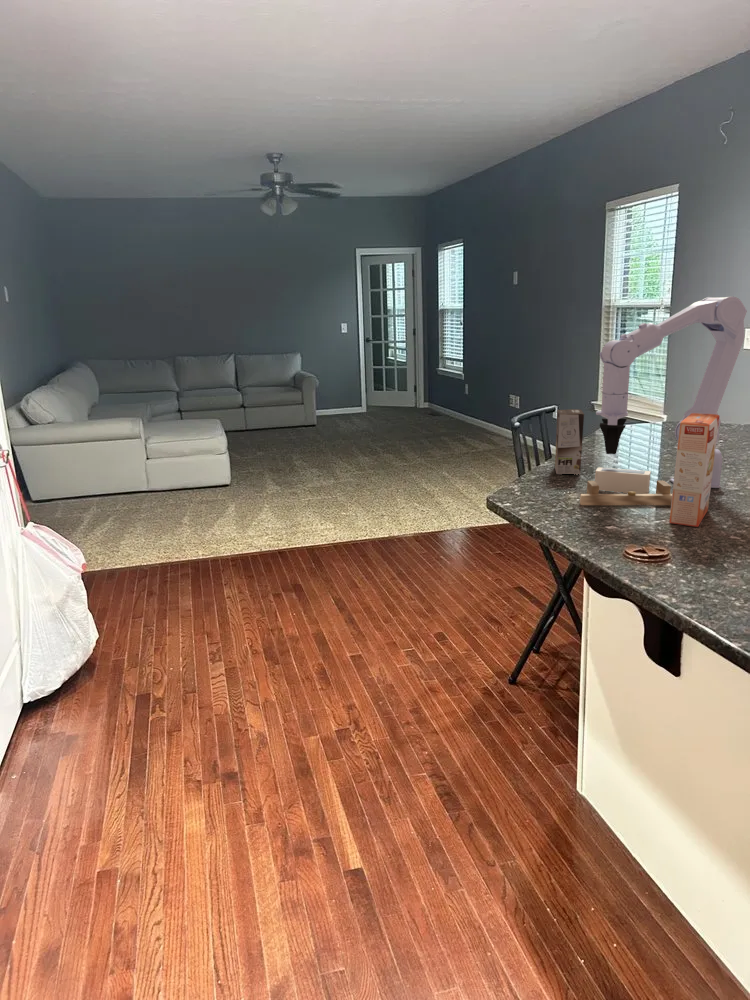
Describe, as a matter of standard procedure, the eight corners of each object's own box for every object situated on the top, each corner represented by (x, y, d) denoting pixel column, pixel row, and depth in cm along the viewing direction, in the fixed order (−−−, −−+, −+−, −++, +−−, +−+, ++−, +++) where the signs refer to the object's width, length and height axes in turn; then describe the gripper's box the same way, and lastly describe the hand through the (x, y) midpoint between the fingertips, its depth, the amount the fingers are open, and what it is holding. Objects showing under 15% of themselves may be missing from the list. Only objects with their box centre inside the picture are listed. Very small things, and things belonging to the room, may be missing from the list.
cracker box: (700, 528, 139) (711, 423, 133) (668, 524, 142) (677, 421, 136) (710, 510, 150) (721, 413, 145) (680, 507, 153) (689, 411, 148)
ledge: (673, 497, 161) (675, 480, 160) (683, 505, 155) (684, 487, 154) (575, 497, 163) (576, 480, 162) (581, 505, 156) (582, 487, 155)
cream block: (649, 491, 167) (650, 470, 166) (647, 495, 164) (649, 474, 162) (596, 487, 172) (598, 467, 171) (594, 491, 169) (595, 470, 167)
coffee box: (581, 475, 183) (584, 413, 179) (555, 474, 185) (558, 413, 180) (578, 467, 192) (581, 408, 188) (554, 467, 193) (557, 408, 189)
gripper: (599, 389, 171) (595, 444, 175) (595, 396, 158) (592, 456, 162) (629, 389, 169) (626, 445, 172) (628, 397, 156) (624, 457, 159)
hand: (611, 450), depth 167 cm, fingers open, 7 cm apart
